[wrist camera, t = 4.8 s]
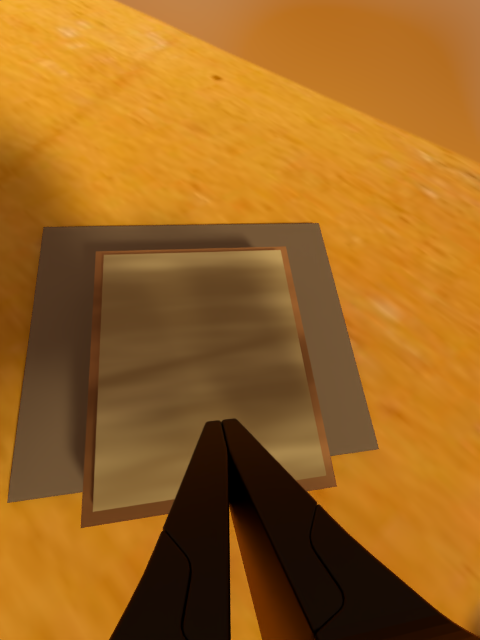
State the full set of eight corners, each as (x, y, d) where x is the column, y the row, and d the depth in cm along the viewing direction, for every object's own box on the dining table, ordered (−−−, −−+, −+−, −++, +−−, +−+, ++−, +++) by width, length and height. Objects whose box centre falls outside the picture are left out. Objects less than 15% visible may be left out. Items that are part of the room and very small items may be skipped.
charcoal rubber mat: (374, 449, 17) (379, 449, 17) (12, 501, 14) (7, 502, 14) (316, 226, 23) (318, 223, 23) (46, 231, 20) (43, 227, 20)
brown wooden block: (340, 487, 13) (287, 242, 17) (77, 530, 11) (93, 246, 16) (312, 480, 16) (273, 274, 20) (102, 514, 14) (110, 281, 19)
